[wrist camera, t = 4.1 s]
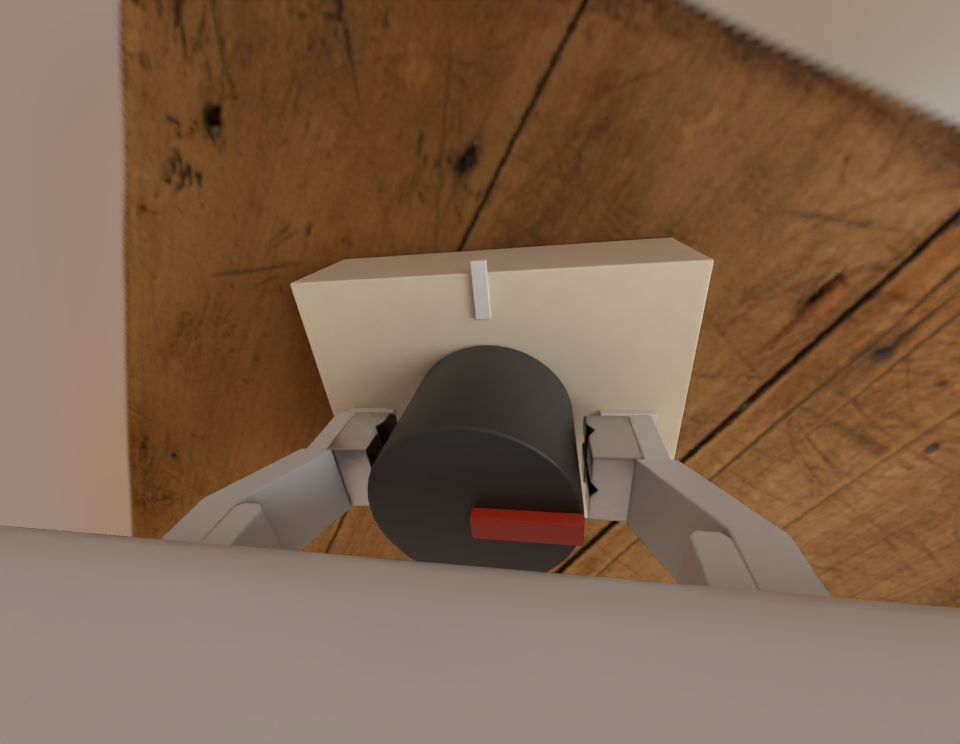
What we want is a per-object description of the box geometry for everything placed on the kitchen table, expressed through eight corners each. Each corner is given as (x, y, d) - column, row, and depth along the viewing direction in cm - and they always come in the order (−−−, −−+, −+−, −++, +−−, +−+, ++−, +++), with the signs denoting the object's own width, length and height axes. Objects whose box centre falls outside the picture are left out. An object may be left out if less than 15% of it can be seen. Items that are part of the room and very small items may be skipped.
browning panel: (394, 455, 16) (362, 514, 13) (341, 249, 12) (280, 273, 9) (639, 463, 14) (662, 534, 11) (673, 225, 10) (721, 245, 7)
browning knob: (429, 471, 12) (385, 587, 9) (404, 346, 10) (332, 434, 6) (570, 477, 11) (581, 607, 8) (574, 342, 9) (592, 441, 6)
